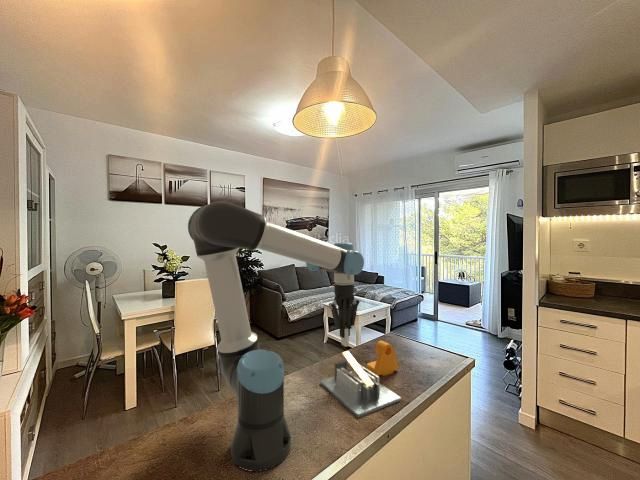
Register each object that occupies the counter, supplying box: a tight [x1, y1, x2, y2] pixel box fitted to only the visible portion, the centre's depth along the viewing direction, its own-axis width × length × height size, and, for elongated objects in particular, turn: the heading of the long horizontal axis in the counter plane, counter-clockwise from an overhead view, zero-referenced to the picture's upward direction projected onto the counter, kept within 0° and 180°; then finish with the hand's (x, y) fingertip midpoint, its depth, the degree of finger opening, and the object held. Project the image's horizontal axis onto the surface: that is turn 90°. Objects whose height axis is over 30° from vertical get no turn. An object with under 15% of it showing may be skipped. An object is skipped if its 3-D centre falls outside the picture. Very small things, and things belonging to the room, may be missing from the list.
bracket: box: [366, 340, 399, 377], centre depth 114 cm, size 11×7×12 cm, turn 120°
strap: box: [340, 350, 376, 390], centre depth 98 cm, size 17×3×1 cm, turn 30°
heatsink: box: [319, 360, 402, 419], centre depth 98 cm, size 23×18×6 cm
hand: (344, 345), depth 106 cm, fingers closed
